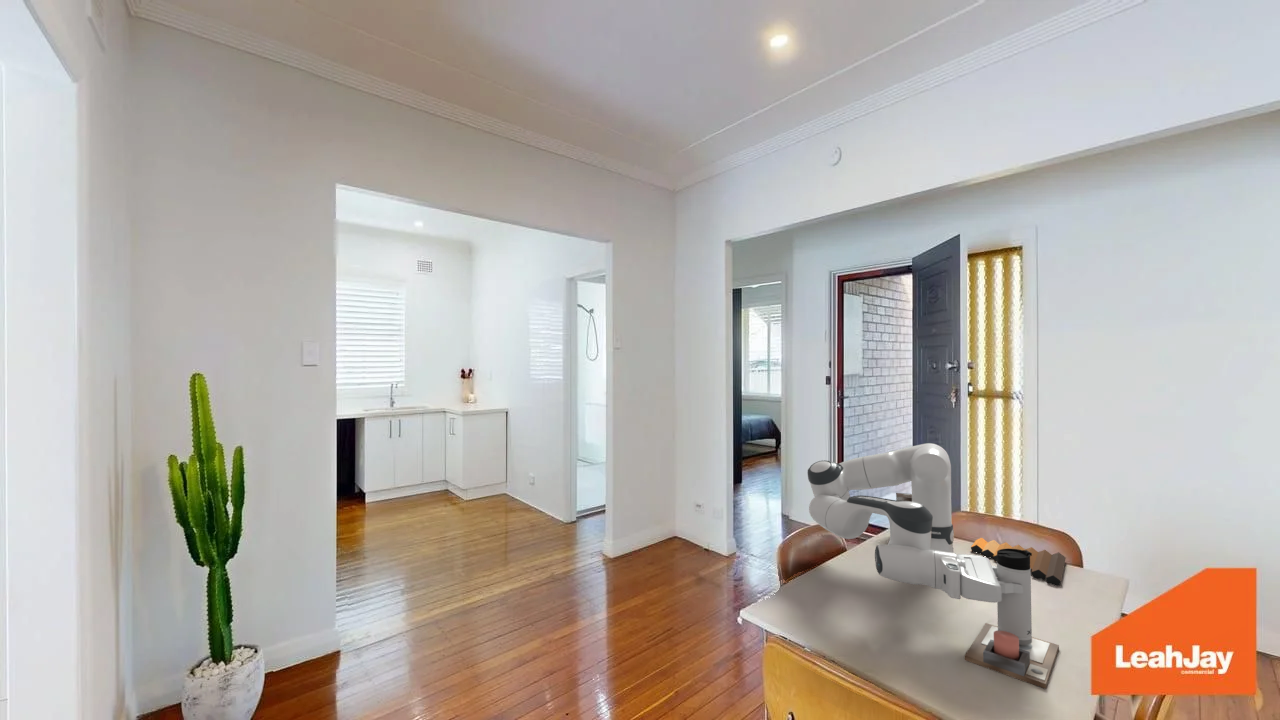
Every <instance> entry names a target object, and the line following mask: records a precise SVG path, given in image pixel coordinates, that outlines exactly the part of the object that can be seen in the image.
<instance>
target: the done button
mask: <svg viewBox="0 0 1280 720" xmlns="http://www.w3.org/2000/svg"><path fill="white" fill-rule="evenodd" d="M994 653H995V654H998V655H1001V656H1004V657H1007V658H1010V659H1013V660H1019V638H1018V637H1017V636H1016V635H1014V634H1012V633H1009V632H1006V631H994Z"/></svg>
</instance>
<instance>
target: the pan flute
mask: <svg viewBox="0 0 1280 720" xmlns="http://www.w3.org/2000/svg"><path fill="white" fill-rule="evenodd" d="M970 549H971V552H972V553H974V552H977V553H976V554H979V553H981V555H982V556H986V558H987V557H991V558H990V559H992V558H993V560H994V562H995V561H997V551H998V550H1000V549H1019V550H1027V551H1029V552H1030V553H1032V556H1030V568H1031V576H1032V577H1033V578H1034V579H1039V580H1042V581H1045V580H1046V583H1047V584H1049V585H1053V586H1057V587H1060V585H1061V583H1062V579H1063V574H1064V568H1065V564H1066V563H1065V562H1066V558H1067V557H1066V556H1065V555H1063V554H1062V553H1061V552H1059V551H1058V552H1056V553H1053V554H1052V553H1050V552H1049V551H1048V550H1046V549H1042V550H1040V551H1037V550H1036V549H1035V548H1034V547H1032V546H1030V547H1028V548H1026V549H1025V548H1024V547H1023V546H1021V545H1020V544H1017V545H1015V546H1012V545H1011V544H1009V543H1008V542H1006V541H1005V542H1003V543H1001V544H1000V543H998V542H997V541H996V540H995V539H991V540H990V541H987V540H985V539H984V538H983V537H980V538H977V539H976V540H974V542H973V544H972V545H971V546H970Z"/></svg>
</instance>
